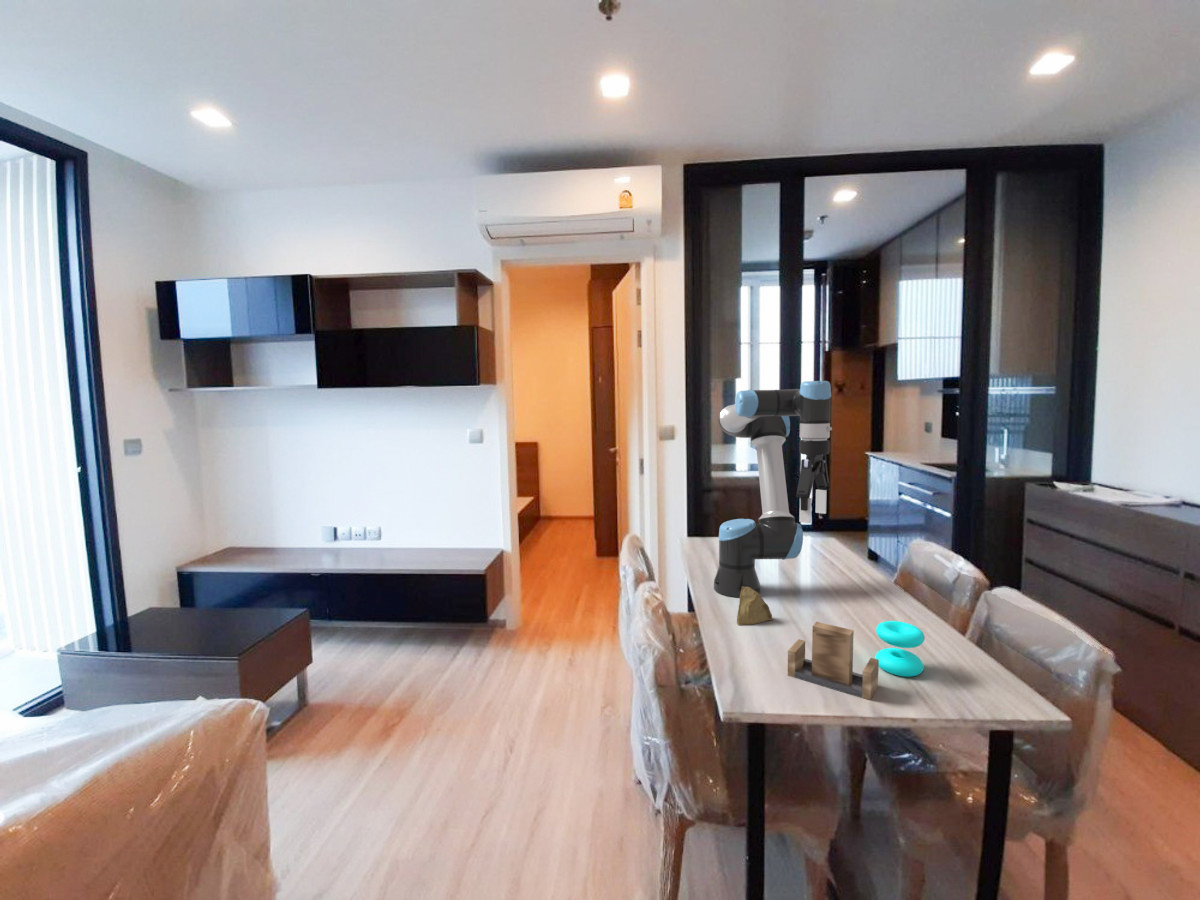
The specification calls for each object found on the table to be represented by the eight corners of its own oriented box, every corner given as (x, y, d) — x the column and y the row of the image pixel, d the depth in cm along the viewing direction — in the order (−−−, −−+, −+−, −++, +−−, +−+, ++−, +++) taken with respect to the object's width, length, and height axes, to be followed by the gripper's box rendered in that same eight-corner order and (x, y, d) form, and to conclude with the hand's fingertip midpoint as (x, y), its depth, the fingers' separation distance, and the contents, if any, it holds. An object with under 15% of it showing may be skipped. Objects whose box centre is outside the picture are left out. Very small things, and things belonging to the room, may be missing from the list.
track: (794, 677, 125) (794, 671, 125) (804, 664, 131) (805, 658, 131) (862, 697, 116) (862, 691, 116) (870, 683, 122) (870, 676, 122)
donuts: (870, 617, 133) (914, 620, 131) (869, 656, 134) (913, 659, 132) (884, 635, 123) (932, 638, 122) (883, 677, 124) (930, 680, 122)
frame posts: (787, 675, 126) (787, 650, 125) (798, 662, 132) (798, 639, 131) (870, 700, 115) (871, 673, 114) (877, 685, 121) (878, 659, 120)
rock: (773, 606, 161) (739, 599, 164) (777, 590, 155) (741, 583, 158) (770, 639, 154) (734, 631, 157) (773, 624, 148) (736, 615, 151)
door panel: (811, 676, 125) (812, 626, 123) (815, 670, 127) (816, 621, 126) (848, 687, 120) (849, 635, 119) (852, 681, 122) (853, 630, 121)
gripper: (814, 443, 132) (812, 528, 134) (842, 436, 152) (840, 510, 154) (783, 442, 137) (782, 524, 139) (814, 435, 156) (813, 508, 158)
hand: (813, 517), depth 146 cm, fingers open, 13 cm apart
